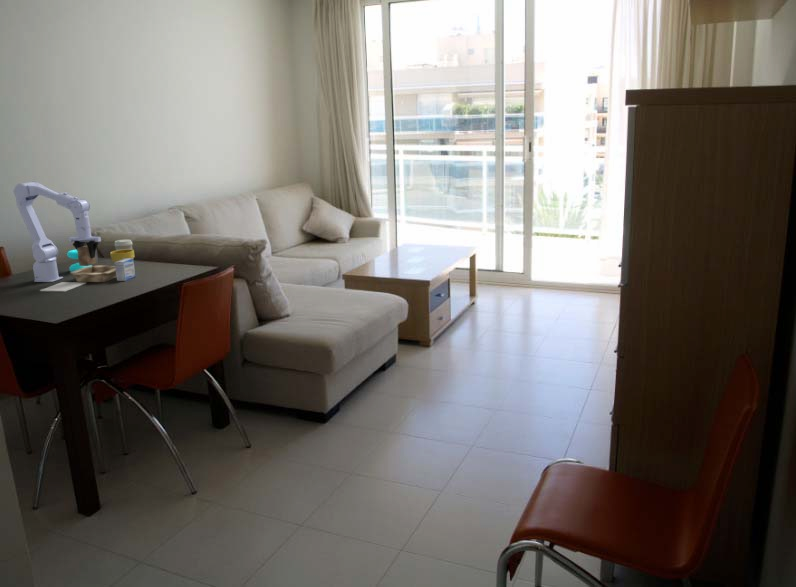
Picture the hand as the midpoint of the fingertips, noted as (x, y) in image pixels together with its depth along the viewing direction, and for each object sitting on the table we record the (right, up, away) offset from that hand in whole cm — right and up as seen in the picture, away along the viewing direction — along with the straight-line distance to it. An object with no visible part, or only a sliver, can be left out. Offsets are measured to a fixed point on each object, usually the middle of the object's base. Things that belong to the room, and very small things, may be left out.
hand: (87, 257), depth 303 cm
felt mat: (-7, -13, -8) cm, 17 cm away
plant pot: (+9, -6, +18) cm, 21 cm away
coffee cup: (+4, -2, +34) cm, 34 cm away
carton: (+2, -9, +6) cm, 11 cm away
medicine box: (+16, -10, +3) cm, 19 cm away
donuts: (-14, -5, +24) cm, 28 cm away
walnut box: (0, -3, +1) cm, 3 cm away
